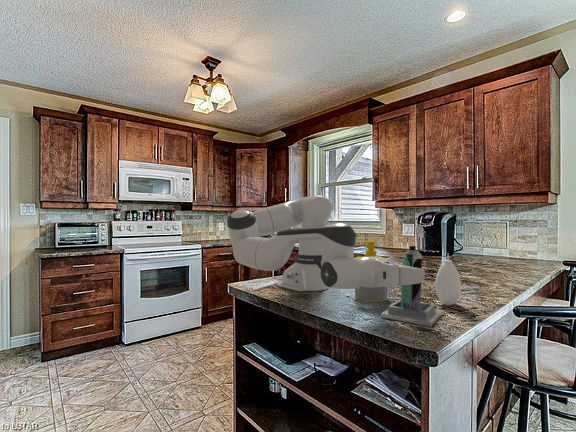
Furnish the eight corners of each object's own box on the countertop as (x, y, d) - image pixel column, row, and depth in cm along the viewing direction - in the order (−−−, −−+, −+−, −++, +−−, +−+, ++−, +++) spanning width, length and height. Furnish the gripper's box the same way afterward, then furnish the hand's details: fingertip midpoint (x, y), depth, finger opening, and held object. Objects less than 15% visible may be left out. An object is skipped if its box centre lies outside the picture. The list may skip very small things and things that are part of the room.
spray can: (421, 315, 96) (423, 247, 96) (401, 313, 97) (404, 245, 98) (418, 310, 101) (420, 246, 102) (399, 308, 103) (402, 244, 103)
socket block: (381, 317, 98) (381, 306, 98) (396, 307, 109) (396, 297, 109) (430, 326, 90) (430, 315, 90) (442, 314, 101) (442, 304, 101)
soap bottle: (352, 293, 130) (352, 239, 130) (386, 294, 128) (387, 240, 128) (353, 301, 117) (353, 242, 117) (391, 303, 115) (391, 242, 115)
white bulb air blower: (446, 300, 118) (446, 251, 118) (465, 306, 111) (466, 253, 111) (430, 303, 115) (430, 251, 115) (450, 308, 108) (450, 254, 108)
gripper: (357, 276, 105) (393, 274, 110) (397, 289, 86) (439, 286, 90) (357, 256, 105) (393, 255, 110) (397, 265, 86) (439, 263, 90)
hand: (414, 269), depth 100 cm, fingers closed on spray can, 5 cm apart
